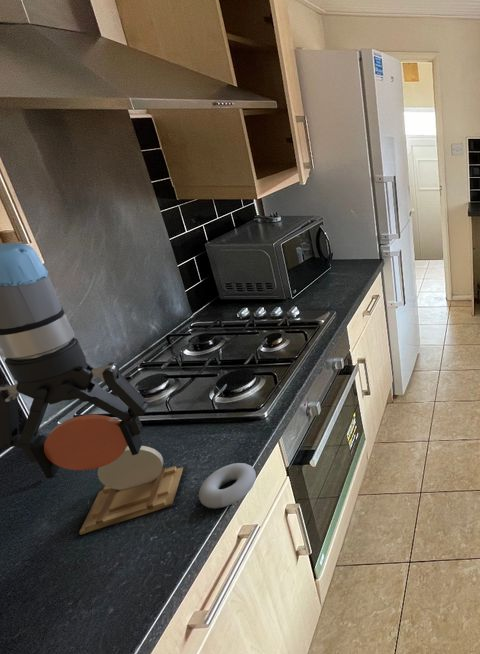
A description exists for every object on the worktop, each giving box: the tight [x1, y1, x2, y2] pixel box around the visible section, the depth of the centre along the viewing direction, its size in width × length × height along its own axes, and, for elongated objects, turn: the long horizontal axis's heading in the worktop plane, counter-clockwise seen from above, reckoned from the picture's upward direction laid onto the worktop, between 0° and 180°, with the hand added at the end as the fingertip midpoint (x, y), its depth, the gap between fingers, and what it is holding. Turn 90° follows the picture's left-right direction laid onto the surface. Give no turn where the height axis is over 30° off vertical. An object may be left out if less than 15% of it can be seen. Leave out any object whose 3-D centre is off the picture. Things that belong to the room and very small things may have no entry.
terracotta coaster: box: [44, 414, 128, 471], centre depth 68 cm, size 10×1×10 cm, turn 117°
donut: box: [198, 462, 257, 509], centre depth 86 cm, size 10×4×10 cm
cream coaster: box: [96, 445, 165, 490], centre depth 85 cm, size 10×1×10 cm, turn 116°
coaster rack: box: [78, 465, 184, 536], centre depth 84 cm, size 14×10×2 cm
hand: (97, 460), depth 70 cm, fingers closed on terracotta coaster, 10 cm apart
